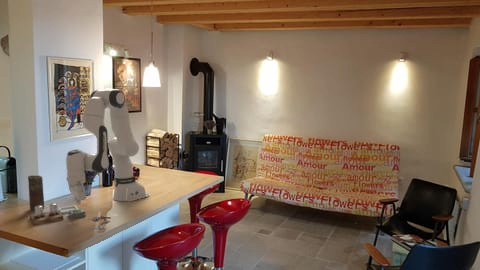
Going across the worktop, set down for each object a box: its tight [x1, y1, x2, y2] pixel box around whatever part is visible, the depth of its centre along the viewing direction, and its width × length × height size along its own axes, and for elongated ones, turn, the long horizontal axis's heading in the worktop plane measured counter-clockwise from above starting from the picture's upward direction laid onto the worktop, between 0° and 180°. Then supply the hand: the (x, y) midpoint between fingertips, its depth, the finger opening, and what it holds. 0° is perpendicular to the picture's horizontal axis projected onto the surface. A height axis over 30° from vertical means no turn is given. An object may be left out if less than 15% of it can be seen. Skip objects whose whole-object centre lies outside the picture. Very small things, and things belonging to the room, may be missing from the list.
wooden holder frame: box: [29, 209, 64, 226], centre depth 197 cm, size 14×12×2 cm
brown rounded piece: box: [27, 175, 45, 212], centre depth 211 cm, size 8×7×20 cm
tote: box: [57, 205, 79, 215], centre depth 210 cm, size 9×8×2 cm
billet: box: [49, 202, 58, 216], centre depth 198 cm, size 4×4×8 cm
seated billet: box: [34, 205, 44, 219], centre depth 194 cm, size 4×4×8 cm
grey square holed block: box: [68, 207, 86, 219], centre depth 203 cm, size 7×7×3 cm
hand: (78, 203), depth 202 cm, fingers closed
